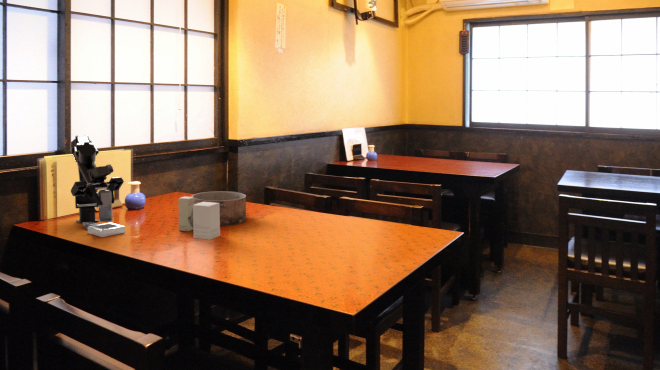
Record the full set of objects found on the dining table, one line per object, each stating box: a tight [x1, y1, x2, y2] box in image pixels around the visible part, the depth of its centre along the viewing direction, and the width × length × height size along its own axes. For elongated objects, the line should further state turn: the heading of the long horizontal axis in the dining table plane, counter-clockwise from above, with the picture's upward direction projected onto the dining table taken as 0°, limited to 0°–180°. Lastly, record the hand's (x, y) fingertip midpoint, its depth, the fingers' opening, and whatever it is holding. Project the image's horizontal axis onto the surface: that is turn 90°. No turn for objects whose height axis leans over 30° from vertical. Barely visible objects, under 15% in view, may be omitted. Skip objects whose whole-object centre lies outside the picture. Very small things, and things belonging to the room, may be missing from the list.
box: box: [177, 195, 194, 232], centre depth 209 cm, size 5×4×13 cm
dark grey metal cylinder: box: [97, 189, 114, 223], centre depth 200 cm, size 5×5×12 cm
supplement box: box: [192, 202, 221, 241], centre depth 199 cm, size 7×7×13 cm
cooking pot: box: [191, 190, 247, 227], centre depth 226 cm, size 30×22×11 cm
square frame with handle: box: [82, 221, 126, 238], centre depth 204 cm, size 20×9×2 cm, turn 54°
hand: (107, 203), depth 199 cm, fingers closed on dark grey metal cylinder, 5 cm apart
